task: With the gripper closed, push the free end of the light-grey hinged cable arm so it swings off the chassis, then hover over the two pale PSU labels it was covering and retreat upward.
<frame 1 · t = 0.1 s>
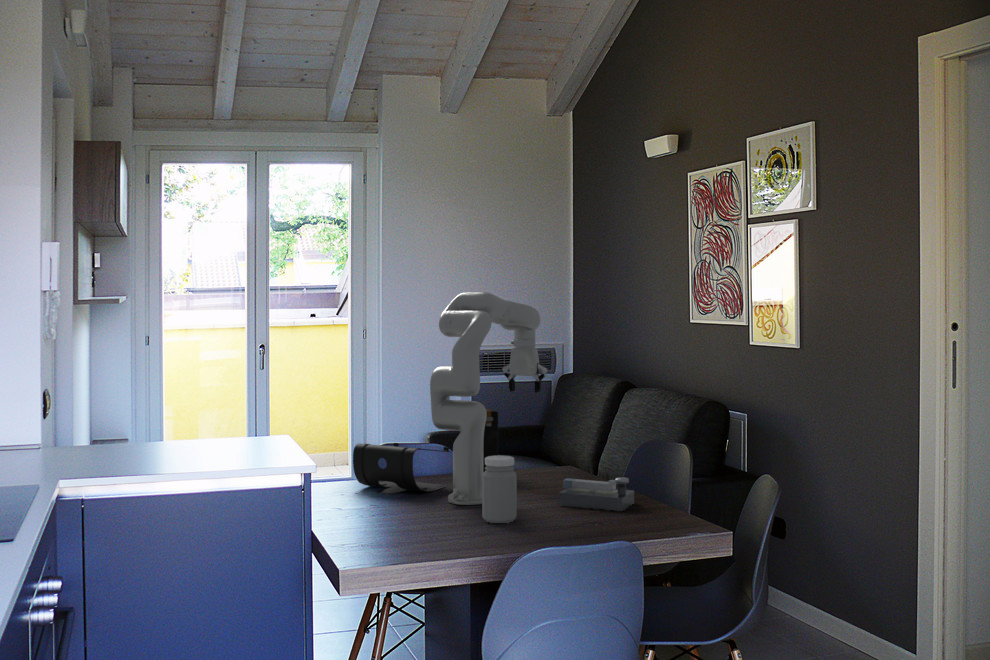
hand: (524, 391, 322), 31 cm above the table, tool pointing down, fingers open, 9 cm apart
chassis: (596, 504, 278), on the table
voltmeter: (480, 478, 325), on the table
jar: (499, 521, 255), on the table
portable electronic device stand: (402, 489, 304), on the table
swing arm: (596, 482, 278), point 7 cm above the table, hinge at 0.0°
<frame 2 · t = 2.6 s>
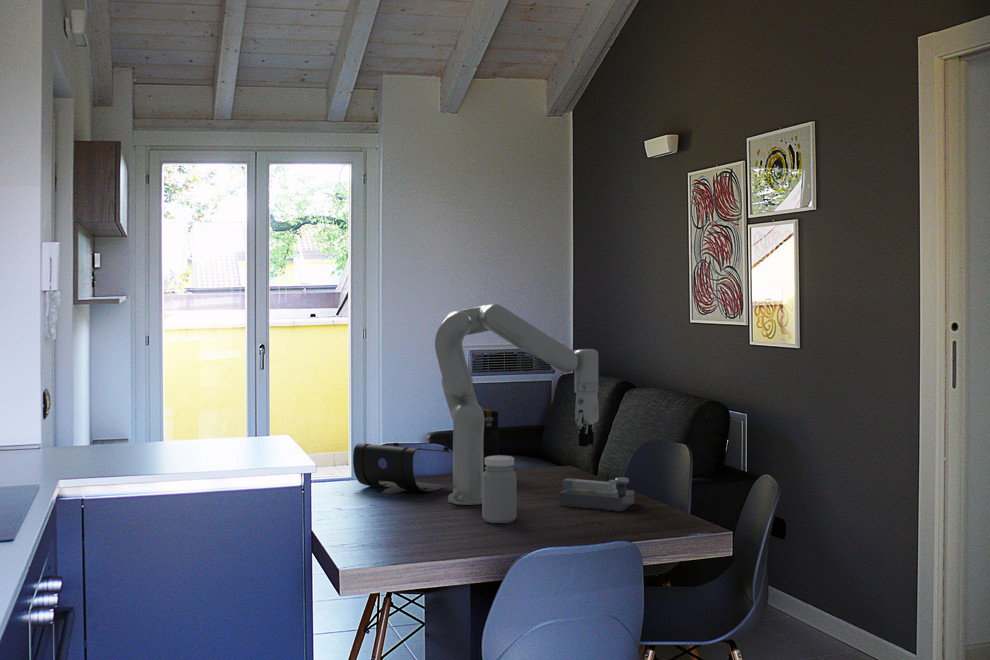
hand: (586, 444, 286), 17 cm above the table, tool pointing down, fingers open, 4 cm apart
nothing on the table moved.
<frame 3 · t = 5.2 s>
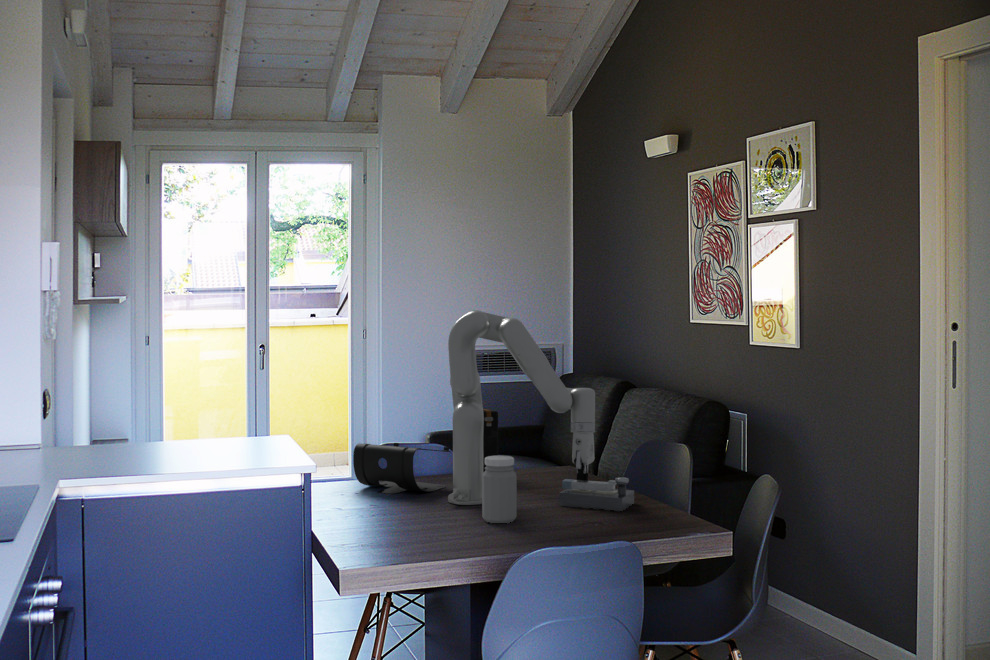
hand: (582, 485, 282), 5 cm above the table, tool pointing down, fingers closed
swing arm: (595, 483, 277), point 7 cm above the table, hinge at 4.6°, touching gripper
everything else where it was.
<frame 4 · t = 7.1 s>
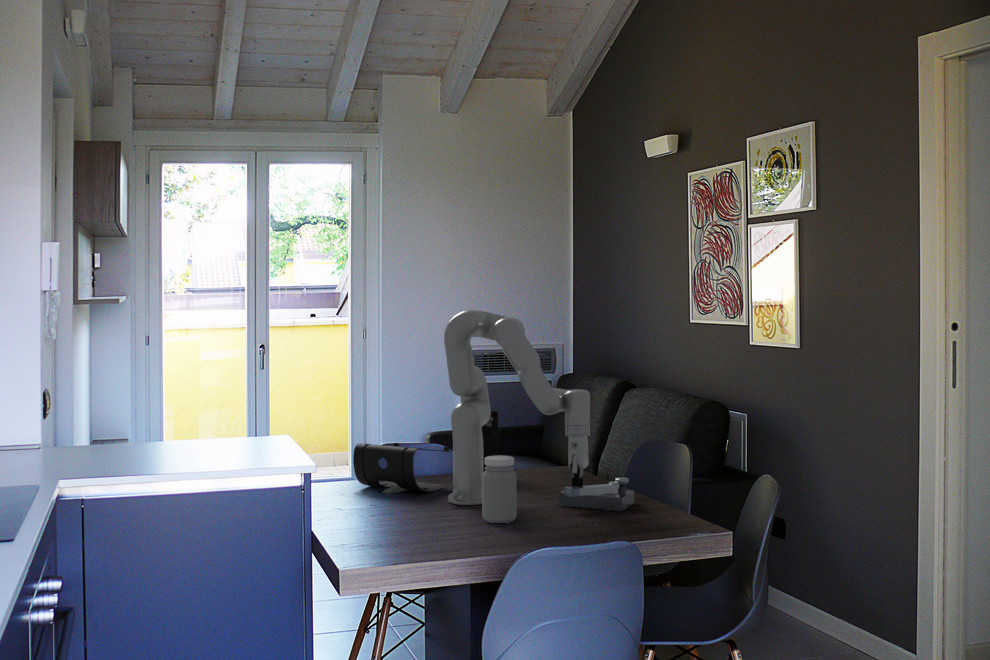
hand: (577, 490, 273), 5 cm above the table, tool pointing down, fingers closed
swing arm: (598, 486, 271), point 7 cm above the table, hinge at 46.9°, touching gripper
everything else where it was.
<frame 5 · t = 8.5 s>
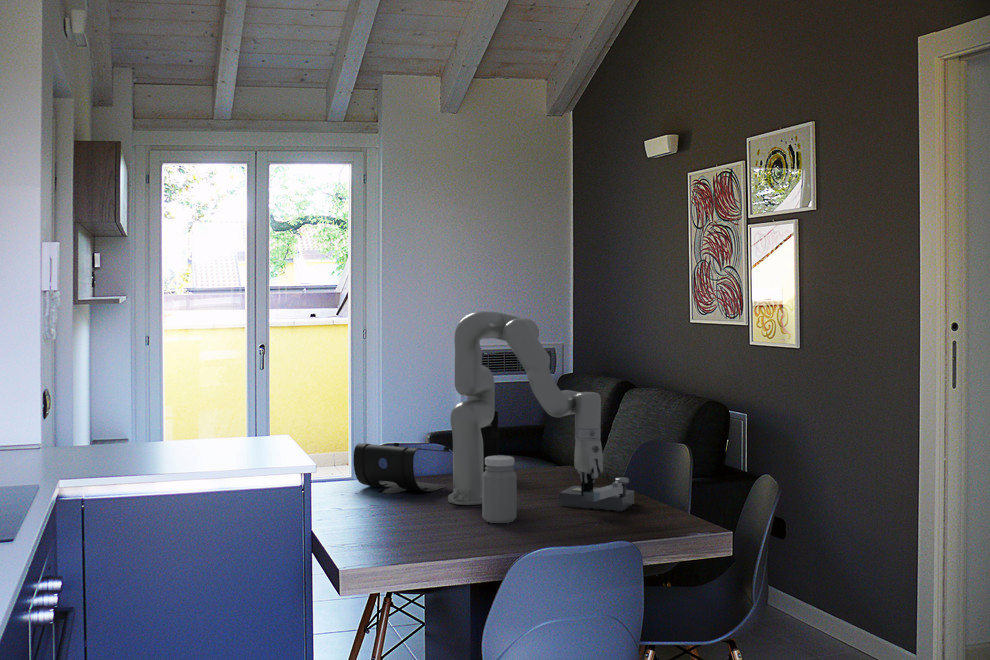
hand: (587, 495, 266), 5 cm above the table, tool pointing down, fingers closed
swing arm: (607, 488, 268), point 7 cm above the table, hinge at 75.8°, touching gripper
everything else where it was.
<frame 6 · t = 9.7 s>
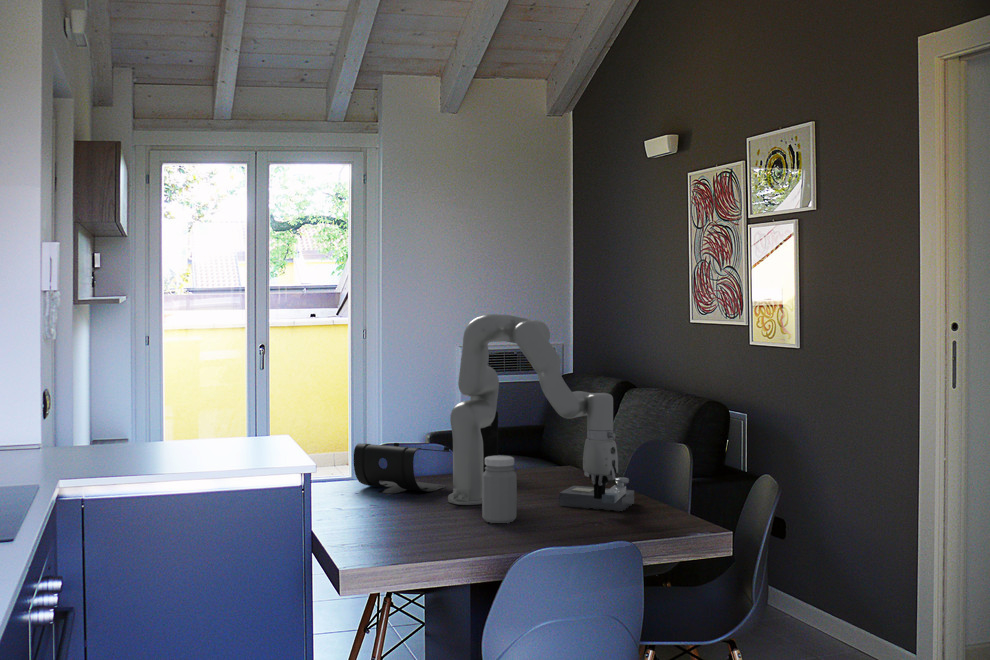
hand: (599, 497, 263), 5 cm above the table, tool pointing down, fingers closed
swing arm: (616, 489, 267), point 7 cm above the table, hinge at 94.9°, touching gripper
everything else where it was.
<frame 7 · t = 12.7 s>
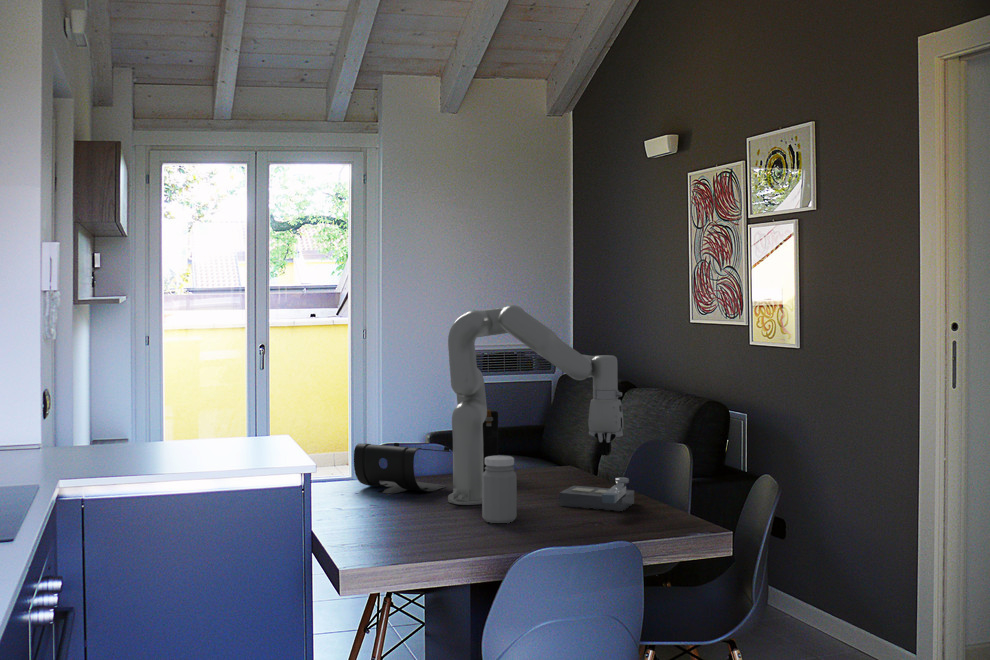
hand: (605, 454, 276), 16 cm above the table, tool pointing down, fingers closed
swing arm: (616, 489, 267), point 7 cm above the table, hinge at 94.9°
everything else where it was.
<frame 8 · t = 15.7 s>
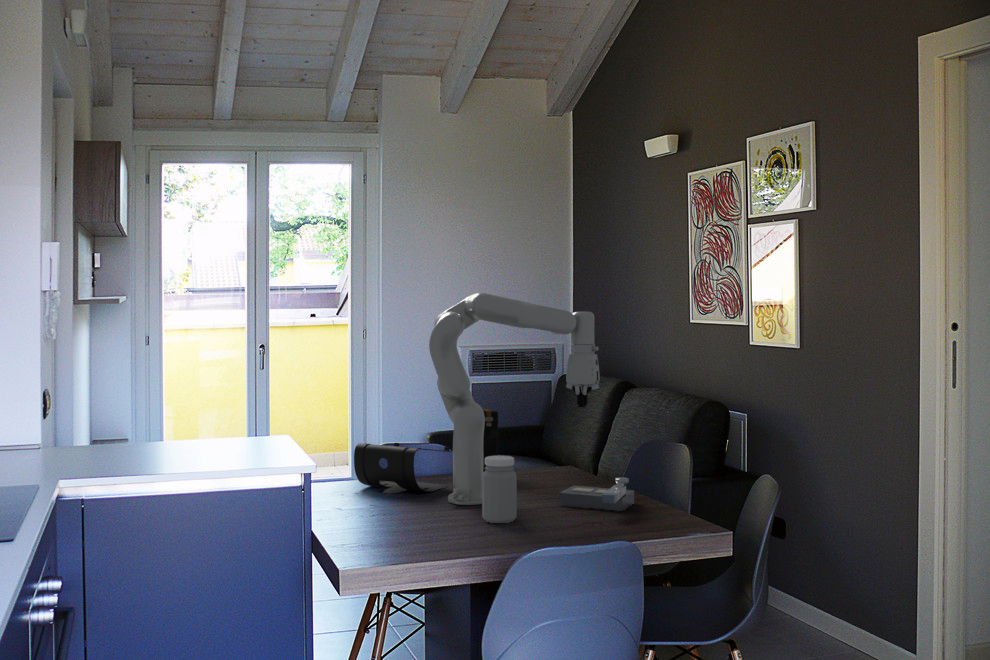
hand: (582, 406, 289), 29 cm above the table, tool pointing down, fingers closed
nothing on the table moved.
at the end: swing arm at +95° (first picture: +0°) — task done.
